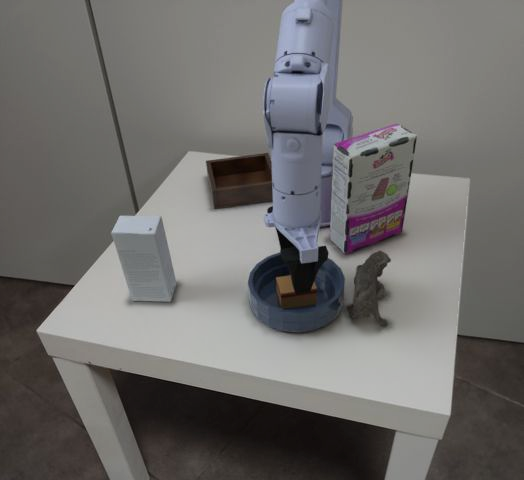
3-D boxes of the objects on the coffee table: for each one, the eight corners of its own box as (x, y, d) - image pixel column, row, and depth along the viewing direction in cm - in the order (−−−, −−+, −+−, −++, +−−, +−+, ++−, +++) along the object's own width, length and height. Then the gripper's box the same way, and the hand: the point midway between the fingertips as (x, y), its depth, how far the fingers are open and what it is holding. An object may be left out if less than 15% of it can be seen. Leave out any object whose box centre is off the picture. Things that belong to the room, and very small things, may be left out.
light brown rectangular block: (310, 288, 79) (311, 271, 76) (316, 304, 76) (317, 288, 74) (276, 293, 78) (275, 277, 76) (281, 309, 76) (280, 293, 74)
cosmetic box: (177, 283, 81) (163, 215, 72) (171, 302, 78) (155, 234, 70) (138, 282, 82) (119, 214, 73) (130, 301, 79) (109, 233, 70)
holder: (268, 169, 102) (268, 152, 100) (279, 200, 95) (279, 182, 93) (207, 177, 101) (205, 160, 99) (214, 209, 94) (212, 191, 92)
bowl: (329, 266, 82) (330, 244, 80) (354, 326, 74) (356, 304, 71) (243, 278, 81) (241, 257, 78) (258, 341, 73) (256, 320, 70)
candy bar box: (384, 218, 90) (398, 121, 78) (402, 234, 87) (420, 135, 75) (326, 239, 87) (331, 141, 75) (344, 256, 84) (352, 156, 72)
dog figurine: (386, 335, 72) (393, 293, 67) (342, 329, 73) (346, 287, 68) (393, 277, 80) (400, 236, 74) (354, 273, 81) (358, 231, 76)
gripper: (252, 156, 68) (258, 245, 78) (274, 221, 58) (277, 313, 68) (307, 149, 69) (306, 238, 79) (338, 212, 59) (331, 304, 69)
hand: (296, 272), depth 74 cm, fingers open, 7 cm apart
